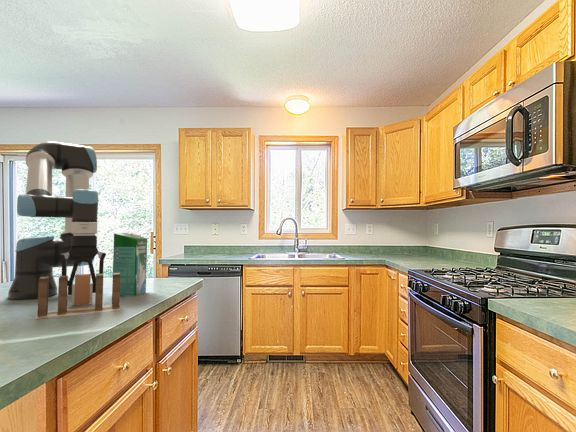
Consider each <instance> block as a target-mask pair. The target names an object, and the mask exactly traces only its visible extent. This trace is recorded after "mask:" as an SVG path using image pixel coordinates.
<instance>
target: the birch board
mask: <svg viewBox="0 0 576 432" xmlns="http://www.w3.org/2000/svg"><path fill="white" fill-rule="evenodd" d="M116 311H122V307H121V306H120V307H119V308H118V309H112V304H106V305H103V306H102V310H100V311H95V305H94V306H86V307H76V308H75V307H74V308H67V312H66V314H62V315H58V309H54V310H48V313H47V315H46V316H43V317H37V315H36V316H35V317H34V319H33V320H42V319H51V318H53V319H54V318H60V317H61V318H62V317H69V316H70V317H71V316H80V315H88V314H89V315H90V314H96V313H107V312H116Z"/></svg>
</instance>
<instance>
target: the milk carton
mask: <svg viewBox="0 0 576 432" xmlns="http://www.w3.org/2000/svg"><path fill="white" fill-rule="evenodd" d="M147 248H148V238H147V237H143V236H142V234H140V233H137V232H136V233H135V232H130V233H128V232H115V233H114V234H113V252H112V253H113V256H112V257H113V258H112V259H113V260H112V261H113V262H112V274H113V273H120V297H121V296H123V297H124V296H127V297H128V296H130V297H131V296H132V297H133V296H134V297H136V296H138V295H140V294H146V292H147V265H148V263H147V258H148V257H147V255H148V249H147Z"/></svg>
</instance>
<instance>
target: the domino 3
mask: <svg viewBox="0 0 576 432" xmlns="http://www.w3.org/2000/svg"><path fill="white" fill-rule="evenodd" d="M95 276H96V293H94V294H95V297H94V298H95V299H94V303H95V304H94V306H95V311H100V310H102V306H103V304H104V303H103V302H104V301H103V299H104V273H103V274H99V273H95Z"/></svg>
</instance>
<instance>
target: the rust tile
mask: <svg viewBox="0 0 576 432" xmlns="http://www.w3.org/2000/svg"><path fill="white" fill-rule="evenodd" d="M91 279H92V278H91V274H90V273H79V274H77V273H76V274H75V277H74V284H75V298H74V305H73V306H86V305H91V304H90V283H91Z"/></svg>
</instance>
